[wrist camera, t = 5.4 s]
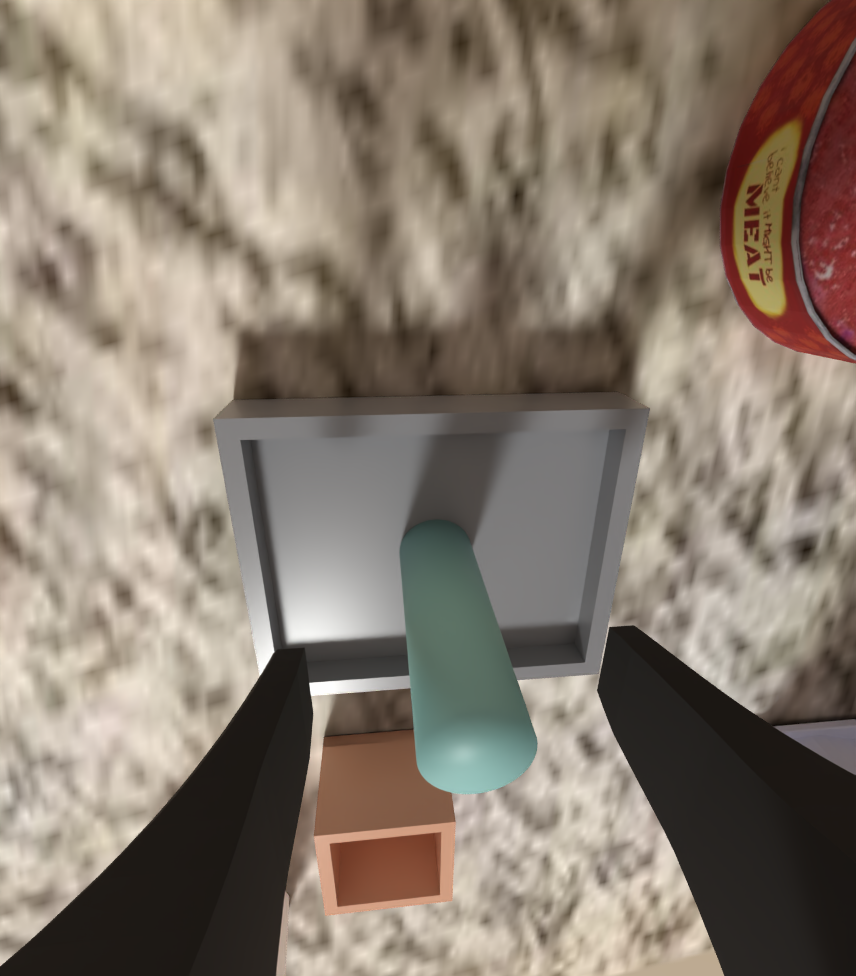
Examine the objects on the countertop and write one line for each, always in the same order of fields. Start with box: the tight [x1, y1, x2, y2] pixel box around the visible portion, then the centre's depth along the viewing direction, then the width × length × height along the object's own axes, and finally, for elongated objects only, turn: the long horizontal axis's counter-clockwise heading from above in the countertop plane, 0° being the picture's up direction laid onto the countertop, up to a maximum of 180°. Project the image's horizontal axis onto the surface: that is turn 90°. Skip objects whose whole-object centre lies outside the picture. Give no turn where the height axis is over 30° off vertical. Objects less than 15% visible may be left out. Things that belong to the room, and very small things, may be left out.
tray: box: [213, 392, 650, 696], centre depth 16 cm, size 12×10×2 cm
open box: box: [314, 730, 456, 916], centre depth 20 cm, size 5×5×4 cm
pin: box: [399, 519, 537, 794], centre depth 13 cm, size 2×2×8 cm
